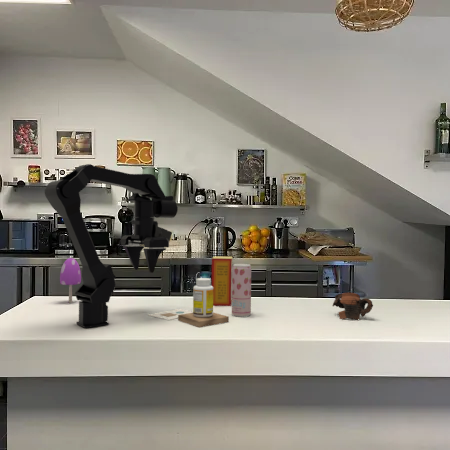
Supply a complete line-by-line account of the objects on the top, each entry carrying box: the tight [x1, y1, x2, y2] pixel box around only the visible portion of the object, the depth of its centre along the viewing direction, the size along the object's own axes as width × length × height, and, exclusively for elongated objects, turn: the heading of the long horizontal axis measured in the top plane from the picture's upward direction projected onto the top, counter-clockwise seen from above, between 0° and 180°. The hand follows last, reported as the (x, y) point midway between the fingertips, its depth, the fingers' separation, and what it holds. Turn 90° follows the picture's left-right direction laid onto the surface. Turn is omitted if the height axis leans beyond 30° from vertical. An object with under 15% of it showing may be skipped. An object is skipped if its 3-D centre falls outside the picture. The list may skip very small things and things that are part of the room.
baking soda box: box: [210, 255, 233, 307], centre depth 146 cm, size 10×6×16 cm
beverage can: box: [231, 263, 252, 318], centre depth 127 cm, size 6×6×15 cm
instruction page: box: [147, 308, 193, 321], centre depth 126 cm, size 12×9×1 cm
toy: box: [59, 257, 82, 304], centre depth 143 cm, size 7×7×15 cm
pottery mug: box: [332, 292, 374, 321], centre depth 126 cm, size 12×9×8 cm
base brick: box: [177, 311, 230, 328], centre depth 118 cm, size 10×10×2 cm
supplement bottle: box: [192, 277, 214, 317], centre depth 118 cm, size 6×6×10 cm
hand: (143, 271), depth 124 cm, fingers open, 9 cm apart
